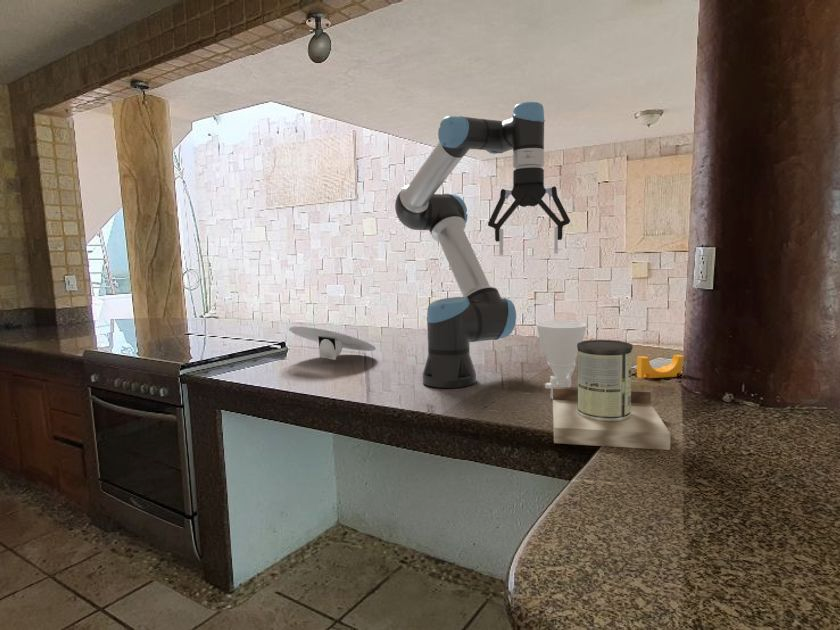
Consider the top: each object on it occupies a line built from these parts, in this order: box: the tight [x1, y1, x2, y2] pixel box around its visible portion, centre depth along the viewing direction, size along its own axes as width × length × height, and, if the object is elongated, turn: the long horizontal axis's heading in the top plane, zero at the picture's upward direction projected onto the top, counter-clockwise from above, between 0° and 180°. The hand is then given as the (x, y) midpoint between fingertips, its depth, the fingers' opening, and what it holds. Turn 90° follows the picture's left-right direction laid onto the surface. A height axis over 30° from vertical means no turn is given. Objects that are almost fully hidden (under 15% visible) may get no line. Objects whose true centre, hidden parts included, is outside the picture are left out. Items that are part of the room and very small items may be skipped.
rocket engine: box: [536, 320, 587, 400], centre depth 126 cm, size 12×12×18 cm
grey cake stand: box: [288, 326, 377, 361], centre depth 182 cm, size 28×19×27 cm
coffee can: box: [577, 339, 634, 422], centre depth 104 cm, size 10×10×14 cm
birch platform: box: [552, 386, 672, 451], centre depth 105 cm, size 20×20×6 cm
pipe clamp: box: [636, 354, 684, 379], centre depth 143 cm, size 12×4×6 cm, turn 93°
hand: (528, 254), depth 133 cm, fingers open, 13 cm apart
